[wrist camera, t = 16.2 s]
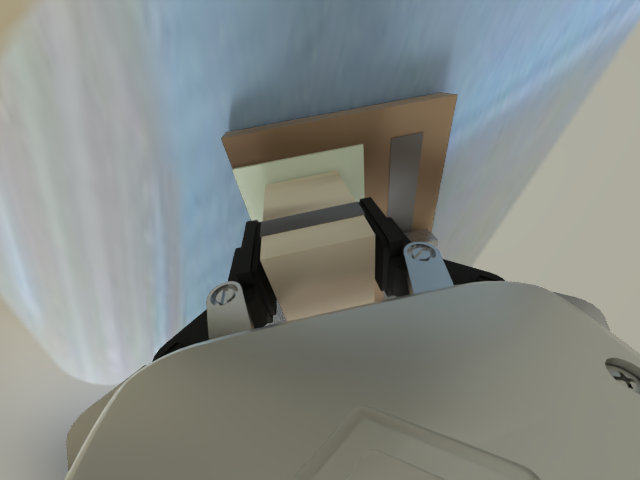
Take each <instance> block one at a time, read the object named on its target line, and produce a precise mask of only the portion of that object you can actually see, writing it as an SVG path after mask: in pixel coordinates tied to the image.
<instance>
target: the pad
mask: <svg viewBox="0 0 640 480" xmlns="http://www.w3.org/2000/svg"><path fill="white" fill-rule="evenodd" d="M232 171H233V174H234V177H235V179H236V182H237V184H238V187H239V190H240V192H241V195H242V198H243V200H244V203H245V205H246V208H247V211H248V213H249V216H250V218H251V221H253V220H258V221H259V222H262V221H263V211H264V197H265V185H269V184H273V183H278V182H283V181H288V180H293V179H298V178H303V177H308V176H313V175H318V174H322V173H327V172H332V171H338V173H339V174H340V176H341V178H342V179H343V181H344V183H345V184H346V186H347V188H348V189H349V191H350V193H351V195H352V196H353V198H354V200H355V201H356V202H360V199H362V198H365V192H364V150H363V144H359V145H354V146H348V147H343V148H338V149H333V150H328V151H322V152H317V153H312V154H307V155H301V156H296V157H291V158H286V159H281V160H275V161H270V162H265V163H260V164H255V165H249V166H244V167H239V168H234V169H232Z"/></svg>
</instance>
